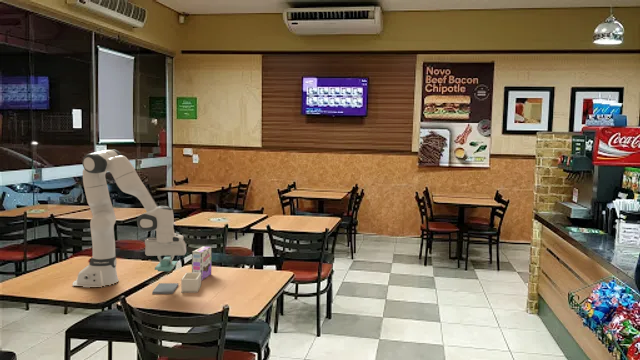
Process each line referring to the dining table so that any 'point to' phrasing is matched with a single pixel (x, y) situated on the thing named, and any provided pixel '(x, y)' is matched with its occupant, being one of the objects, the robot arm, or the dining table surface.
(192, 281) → the tub
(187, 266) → the dining table surface
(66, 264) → the dining table surface
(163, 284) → the mat
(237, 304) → the dining table surface
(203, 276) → the candy box
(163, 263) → the lid
